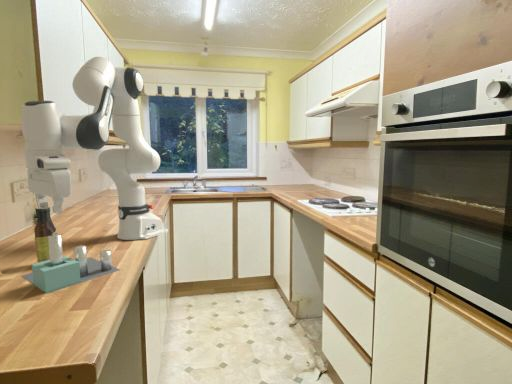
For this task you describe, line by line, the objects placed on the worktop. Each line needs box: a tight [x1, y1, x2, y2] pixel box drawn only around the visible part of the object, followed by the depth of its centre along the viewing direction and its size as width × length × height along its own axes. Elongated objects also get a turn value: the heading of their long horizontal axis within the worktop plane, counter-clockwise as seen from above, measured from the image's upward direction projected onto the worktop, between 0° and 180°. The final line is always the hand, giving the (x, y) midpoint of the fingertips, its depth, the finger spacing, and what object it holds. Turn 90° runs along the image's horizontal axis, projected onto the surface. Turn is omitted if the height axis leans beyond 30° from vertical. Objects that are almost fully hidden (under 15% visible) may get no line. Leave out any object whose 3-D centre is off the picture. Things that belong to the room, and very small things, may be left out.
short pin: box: [99, 249, 113, 271], centre depth 103 cm, size 3×3×6 cm
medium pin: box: [73, 244, 88, 278], centre depth 98 cm, size 3×3×9 cm
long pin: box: [48, 233, 64, 267], centre depth 92 cm, size 3×3×14 cm
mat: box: [21, 257, 121, 294], centre depth 101 cm, size 21×20×1 cm
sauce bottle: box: [33, 206, 58, 263], centre depth 108 cm, size 7×6×20 cm
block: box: [31, 255, 81, 294], centre depth 92 cm, size 9×9×6 cm
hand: (50, 210), depth 90 cm, fingers open, 8 cm apart
